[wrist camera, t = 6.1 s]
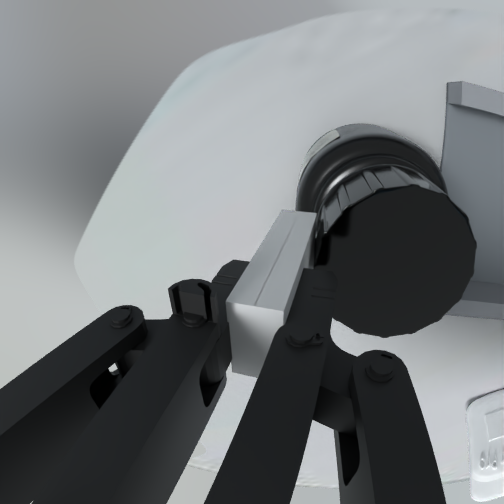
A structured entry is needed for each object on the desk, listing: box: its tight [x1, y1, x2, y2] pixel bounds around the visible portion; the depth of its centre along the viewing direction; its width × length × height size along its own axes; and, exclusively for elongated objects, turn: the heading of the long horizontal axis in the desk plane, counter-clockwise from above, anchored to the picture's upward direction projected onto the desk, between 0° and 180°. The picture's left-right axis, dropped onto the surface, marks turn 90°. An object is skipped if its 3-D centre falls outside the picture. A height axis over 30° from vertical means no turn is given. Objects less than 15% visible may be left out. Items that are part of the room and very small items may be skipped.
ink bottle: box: [296, 124, 477, 338], centre depth 16 cm, size 10×9×12 cm
